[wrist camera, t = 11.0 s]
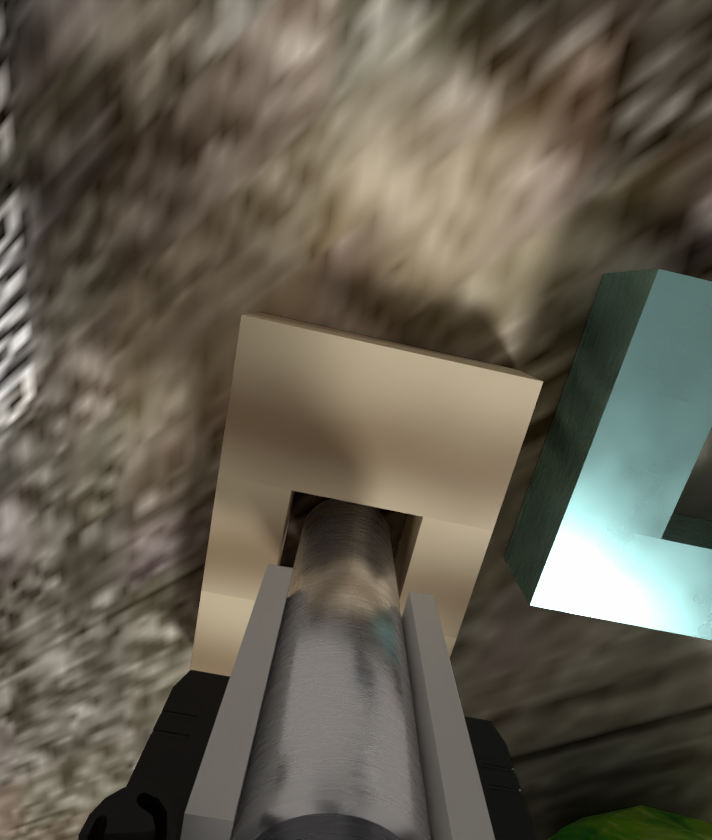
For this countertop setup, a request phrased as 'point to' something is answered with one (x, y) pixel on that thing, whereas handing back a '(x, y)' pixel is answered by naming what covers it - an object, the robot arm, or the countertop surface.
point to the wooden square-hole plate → (357, 462)
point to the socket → (626, 464)
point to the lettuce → (636, 826)
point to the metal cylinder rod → (337, 697)
